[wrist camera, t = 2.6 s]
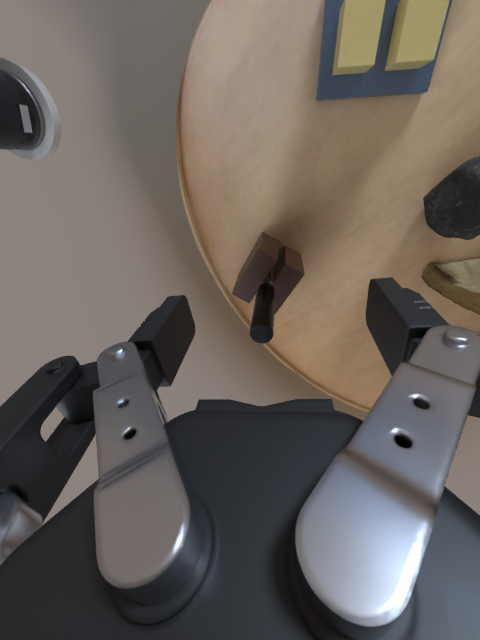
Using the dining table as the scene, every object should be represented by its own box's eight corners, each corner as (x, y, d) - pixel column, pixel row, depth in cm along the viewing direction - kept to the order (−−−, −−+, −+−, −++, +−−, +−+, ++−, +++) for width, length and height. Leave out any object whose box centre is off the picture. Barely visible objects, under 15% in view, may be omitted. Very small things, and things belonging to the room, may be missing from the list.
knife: (258, 268, 44) (244, 338, 27) (267, 253, 42) (258, 318, 26) (270, 274, 44) (264, 348, 28) (279, 260, 43) (279, 329, 26)
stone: (465, 183, 36) (517, 127, 26) (502, 227, 34) (571, 183, 25) (407, 218, 37) (436, 176, 28) (440, 260, 36) (482, 232, 26)
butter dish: (316, 100, 31) (317, 99, 31) (326, -14, 27) (328, -19, 26) (423, 93, 30) (427, 91, 29) (455, -30, 25) (461, -36, 24)
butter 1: (332, 75, 29) (337, 67, 27) (339, 9, 27) (346, -7, 24) (365, 72, 29) (374, 64, 26) (377, 5, 26) (387, -12, 23)
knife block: (239, 273, 45) (231, 294, 38) (262, 231, 41) (258, 247, 34) (274, 292, 46) (273, 316, 39) (301, 254, 42) (304, 274, 35)
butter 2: (384, 71, 29) (395, 63, 26) (397, 3, 26) (411, -14, 23) (419, 68, 28) (434, 59, 25) (437, -2, 25) (455, -20, 23)
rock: (406, 294, 41) (457, 327, 41) (456, 283, 32) (520, 326, 32) (437, 237, 41) (488, 270, 42) (494, 212, 33) (556, 254, 33)
